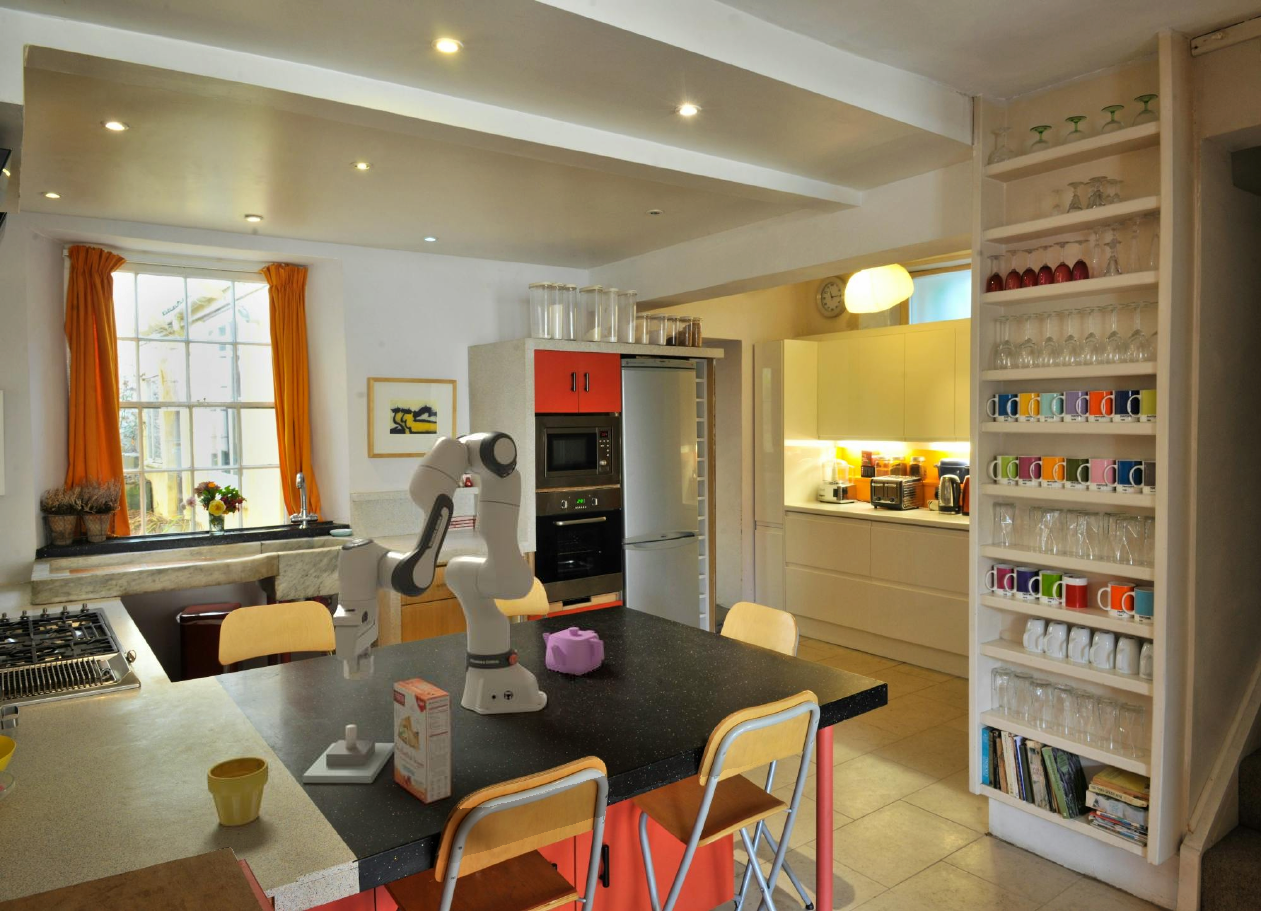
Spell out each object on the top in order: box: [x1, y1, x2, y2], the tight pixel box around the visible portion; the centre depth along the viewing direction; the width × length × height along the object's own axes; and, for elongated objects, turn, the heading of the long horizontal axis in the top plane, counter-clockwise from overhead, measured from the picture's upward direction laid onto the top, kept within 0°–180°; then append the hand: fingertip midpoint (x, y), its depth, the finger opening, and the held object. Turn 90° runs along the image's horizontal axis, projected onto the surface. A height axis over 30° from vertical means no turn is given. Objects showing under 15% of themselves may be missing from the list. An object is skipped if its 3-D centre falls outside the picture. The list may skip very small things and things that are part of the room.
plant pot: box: [206, 756, 269, 827], centre depth 159 cm, size 10×10×10 cm
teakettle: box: [542, 626, 605, 676], centre depth 259 cm, size 17×17×12 cm
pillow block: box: [302, 724, 394, 784], centre depth 184 cm, size 14×18×8 cm
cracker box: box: [393, 677, 452, 804], centre depth 172 cm, size 14×6×21 cm, turn 41°
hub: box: [342, 652, 375, 681], centre depth 198 cm, size 6×6×4 cm
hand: (358, 668), depth 198 cm, fingers closed on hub, 6 cm apart
